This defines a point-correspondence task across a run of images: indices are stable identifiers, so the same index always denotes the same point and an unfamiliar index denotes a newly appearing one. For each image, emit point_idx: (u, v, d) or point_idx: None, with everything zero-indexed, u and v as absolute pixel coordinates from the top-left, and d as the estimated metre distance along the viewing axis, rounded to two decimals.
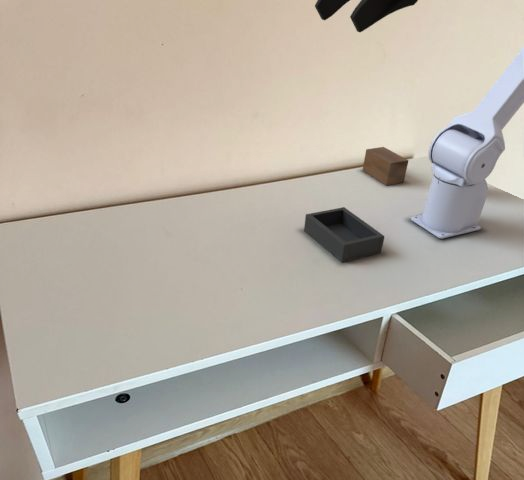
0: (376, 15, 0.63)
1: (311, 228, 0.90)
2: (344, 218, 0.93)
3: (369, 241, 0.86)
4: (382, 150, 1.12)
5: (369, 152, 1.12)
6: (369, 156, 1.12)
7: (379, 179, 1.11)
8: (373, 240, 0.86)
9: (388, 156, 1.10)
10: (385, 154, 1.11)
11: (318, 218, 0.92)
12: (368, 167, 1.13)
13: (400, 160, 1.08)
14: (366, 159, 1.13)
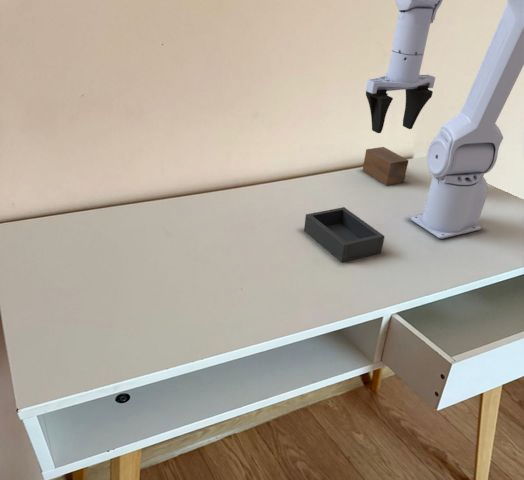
0: (379, 119, 1.04)
1: (311, 228, 0.90)
2: (344, 218, 0.93)
3: (369, 241, 0.86)
4: (382, 150, 1.12)
5: (369, 152, 1.12)
6: (369, 156, 1.12)
7: (379, 179, 1.11)
8: (373, 240, 0.86)
9: (388, 156, 1.10)
10: (385, 154, 1.11)
11: (318, 218, 0.92)
12: (368, 167, 1.13)
13: (400, 160, 1.08)
14: (366, 159, 1.13)
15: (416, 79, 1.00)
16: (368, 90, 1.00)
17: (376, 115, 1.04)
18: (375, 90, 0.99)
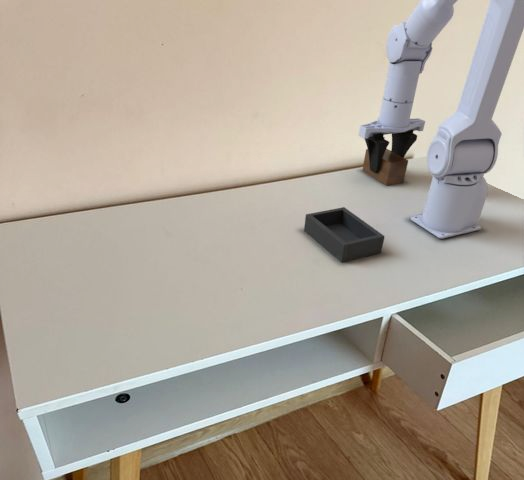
0: (376, 161, 1.09)
1: (311, 228, 0.90)
2: (344, 218, 0.93)
3: (369, 241, 0.86)
4: None
5: None
6: None
7: (379, 179, 1.11)
8: (373, 240, 0.86)
9: (388, 156, 1.10)
10: (385, 154, 1.11)
11: (318, 218, 0.92)
12: (368, 167, 1.13)
13: (400, 160, 1.08)
14: (366, 159, 1.13)
15: (406, 124, 1.05)
16: (361, 135, 1.05)
17: (374, 156, 1.10)
18: (367, 135, 1.04)
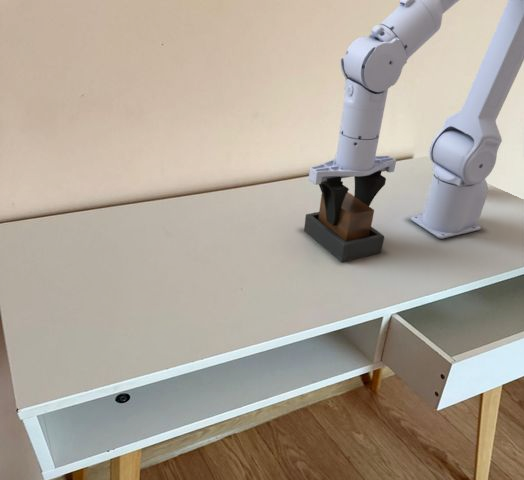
0: (334, 211, 0.85)
1: (311, 228, 0.90)
2: None
3: (369, 241, 0.86)
4: None
5: None
6: None
7: (337, 233, 0.87)
8: (373, 240, 0.86)
9: (348, 204, 0.85)
10: (345, 201, 0.86)
11: None
12: (324, 216, 0.89)
13: (363, 210, 0.84)
14: (322, 206, 0.89)
15: (371, 166, 0.81)
16: (311, 180, 0.81)
17: (330, 205, 0.85)
18: (319, 180, 0.80)
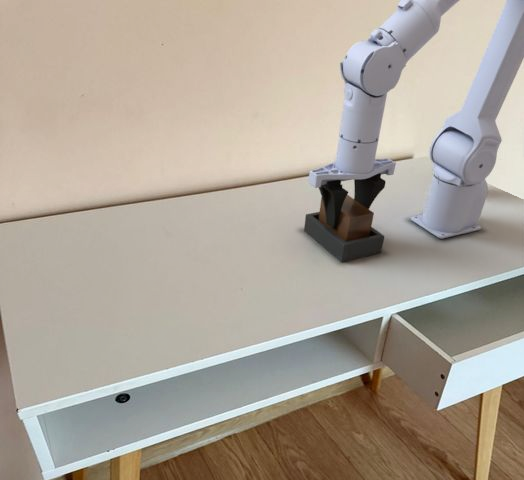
0: (333, 213, 0.85)
1: (311, 228, 0.90)
2: None
3: (369, 241, 0.86)
4: None
5: None
6: None
7: None
8: (373, 240, 0.86)
9: (348, 207, 0.86)
10: (345, 204, 0.87)
11: (318, 218, 0.92)
12: (324, 219, 0.89)
13: (363, 213, 0.84)
14: (322, 209, 0.89)
15: (370, 169, 0.81)
16: (311, 183, 0.81)
17: (330, 208, 0.86)
18: (319, 184, 0.80)
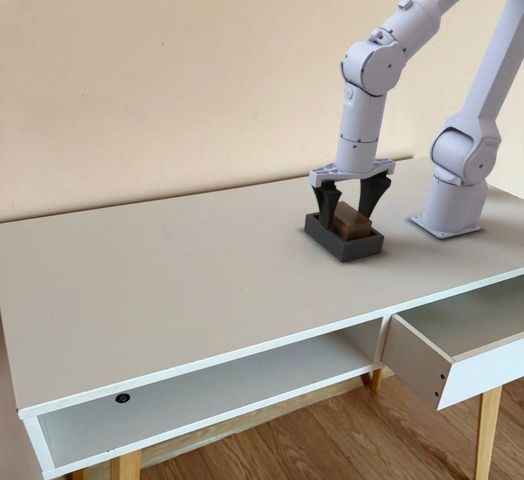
0: (327, 214, 0.85)
1: (311, 228, 0.90)
2: None
3: (369, 241, 0.86)
4: (341, 206, 0.89)
5: None
6: None
7: None
8: (373, 240, 0.86)
9: (347, 216, 0.87)
10: (344, 212, 0.88)
11: (318, 218, 0.92)
12: None
13: (362, 221, 0.85)
14: None
15: (370, 169, 0.81)
16: (311, 182, 0.81)
17: (324, 208, 0.85)
18: (319, 183, 0.80)
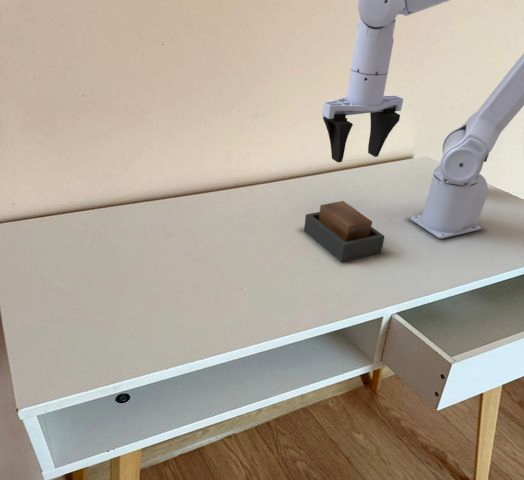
0: (338, 147, 0.91)
1: (311, 228, 0.90)
2: None
3: (369, 241, 0.86)
4: (341, 206, 0.89)
5: (324, 209, 0.89)
6: (324, 214, 0.89)
7: None
8: (373, 240, 0.86)
9: (347, 216, 0.87)
10: (344, 212, 0.88)
11: (318, 218, 0.92)
12: None
13: (362, 221, 0.85)
14: (321, 217, 0.90)
15: (380, 102, 0.87)
16: (324, 115, 0.87)
17: (335, 142, 0.91)
18: (332, 115, 0.86)
